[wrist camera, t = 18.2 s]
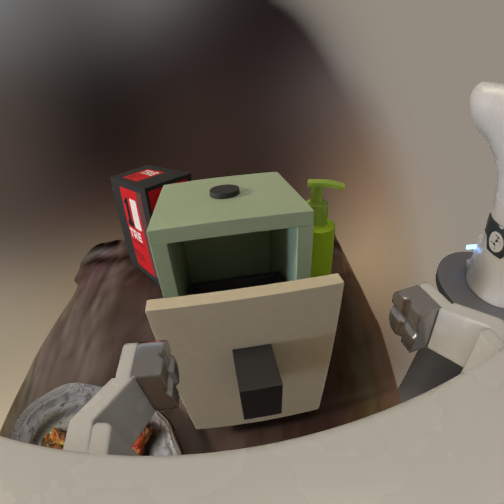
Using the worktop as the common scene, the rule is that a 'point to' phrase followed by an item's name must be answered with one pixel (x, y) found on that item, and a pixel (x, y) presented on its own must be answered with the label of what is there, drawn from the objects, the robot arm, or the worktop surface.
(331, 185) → the soap dispenser
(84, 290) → the worktop surface
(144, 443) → the food plate
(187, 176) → the cleaning product box
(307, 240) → the box
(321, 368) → the basket
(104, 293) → the worktop surface
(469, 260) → the robot arm
